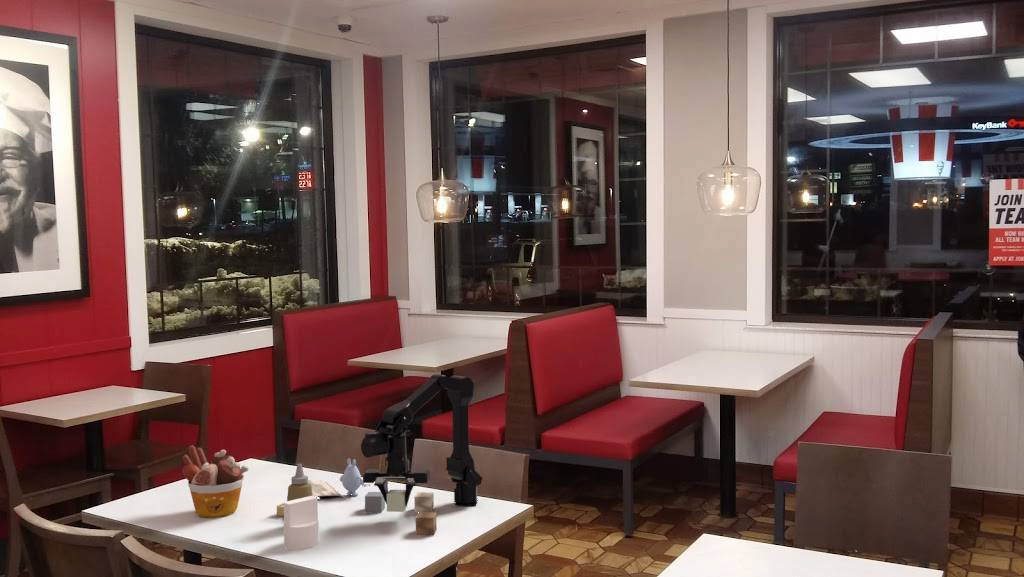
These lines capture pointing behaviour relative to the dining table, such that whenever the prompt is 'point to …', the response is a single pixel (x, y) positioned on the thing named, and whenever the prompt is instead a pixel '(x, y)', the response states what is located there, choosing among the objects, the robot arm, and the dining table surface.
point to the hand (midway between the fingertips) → (397, 505)
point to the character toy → (280, 509)
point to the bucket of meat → (213, 482)
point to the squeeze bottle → (299, 485)
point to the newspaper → (322, 488)
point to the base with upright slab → (301, 523)
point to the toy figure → (351, 478)
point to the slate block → (374, 502)
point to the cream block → (424, 501)
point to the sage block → (396, 501)
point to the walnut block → (426, 523)
